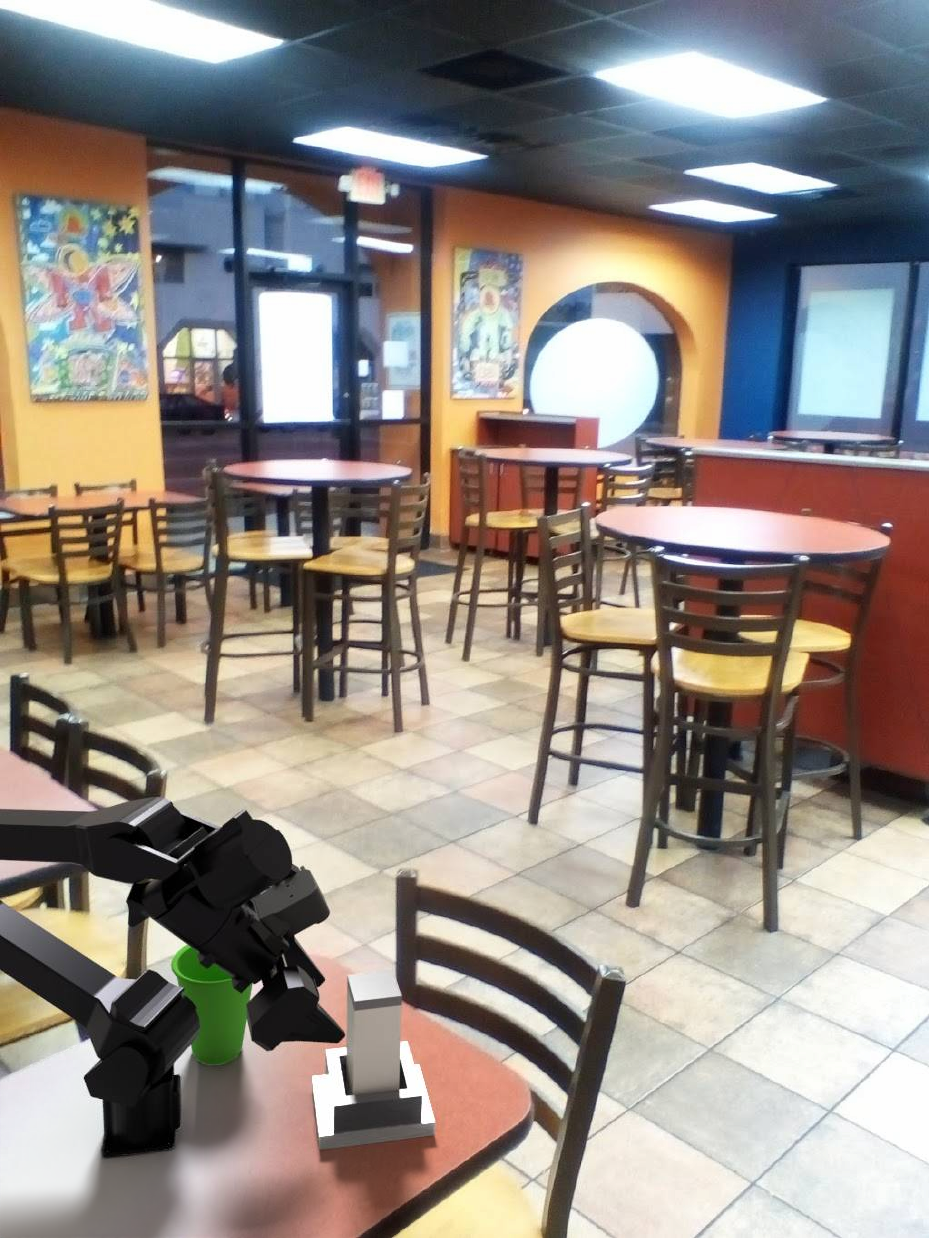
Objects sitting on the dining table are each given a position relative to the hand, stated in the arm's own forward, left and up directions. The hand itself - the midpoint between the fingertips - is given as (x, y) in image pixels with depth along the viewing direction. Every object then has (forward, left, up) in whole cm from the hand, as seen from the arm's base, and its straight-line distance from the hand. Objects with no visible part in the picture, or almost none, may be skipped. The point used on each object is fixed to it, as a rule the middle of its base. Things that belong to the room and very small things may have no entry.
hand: (331, 1009), depth 97 cm
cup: (-11, +12, -12) cm, 20 cm away
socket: (+4, 0, -12) cm, 13 cm away
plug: (+4, 0, -10) cm, 11 cm away
